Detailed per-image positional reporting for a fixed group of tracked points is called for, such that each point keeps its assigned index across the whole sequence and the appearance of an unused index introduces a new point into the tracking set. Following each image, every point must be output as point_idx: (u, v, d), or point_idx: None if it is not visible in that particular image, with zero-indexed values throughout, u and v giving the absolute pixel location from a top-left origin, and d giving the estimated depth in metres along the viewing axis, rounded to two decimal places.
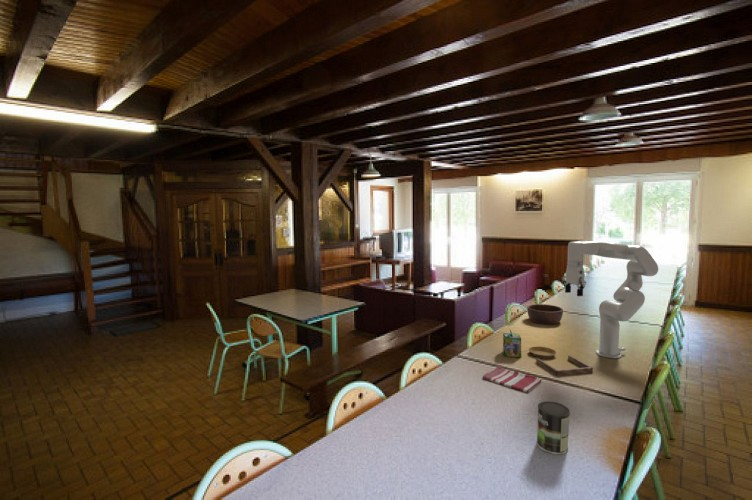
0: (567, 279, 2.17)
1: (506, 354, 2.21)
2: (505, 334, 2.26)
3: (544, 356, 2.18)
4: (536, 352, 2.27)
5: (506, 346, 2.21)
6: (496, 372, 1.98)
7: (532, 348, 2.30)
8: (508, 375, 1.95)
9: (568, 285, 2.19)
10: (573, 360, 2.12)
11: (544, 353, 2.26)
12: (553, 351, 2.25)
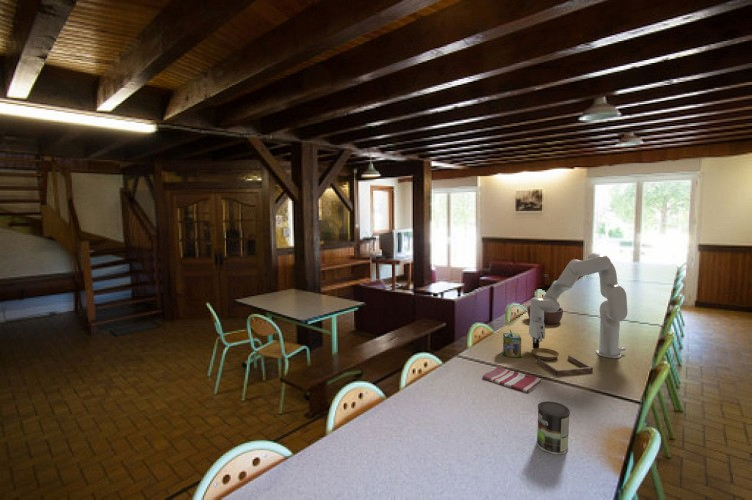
0: (530, 332, 2.32)
1: (506, 354, 2.21)
2: (505, 334, 2.26)
3: (547, 358, 2.15)
4: (539, 353, 2.25)
5: (506, 346, 2.21)
6: (496, 372, 1.98)
7: (534, 349, 2.27)
8: (508, 375, 1.95)
9: None
10: (573, 360, 2.12)
11: (547, 354, 2.24)
12: (556, 352, 2.22)
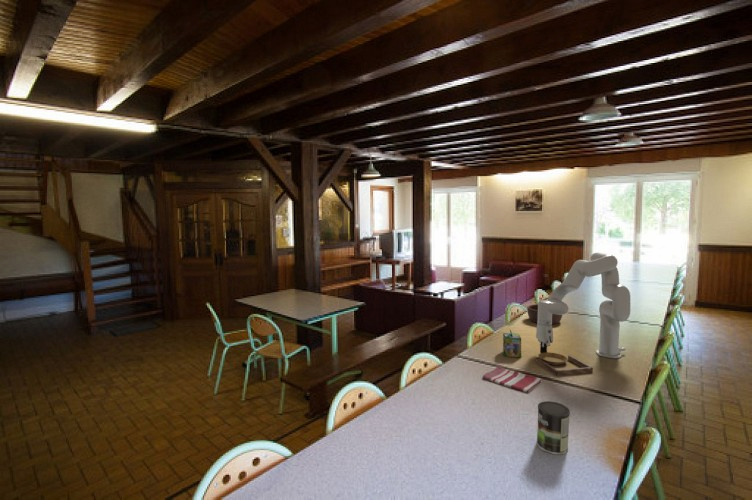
0: (537, 336, 2.24)
1: (506, 354, 2.21)
2: (505, 334, 2.26)
3: (555, 363, 2.07)
4: (546, 358, 2.17)
5: (506, 346, 2.21)
6: (496, 372, 1.98)
7: (542, 354, 2.20)
8: (508, 375, 1.95)
9: None
10: (573, 360, 2.12)
11: (555, 359, 2.16)
12: (564, 357, 2.14)
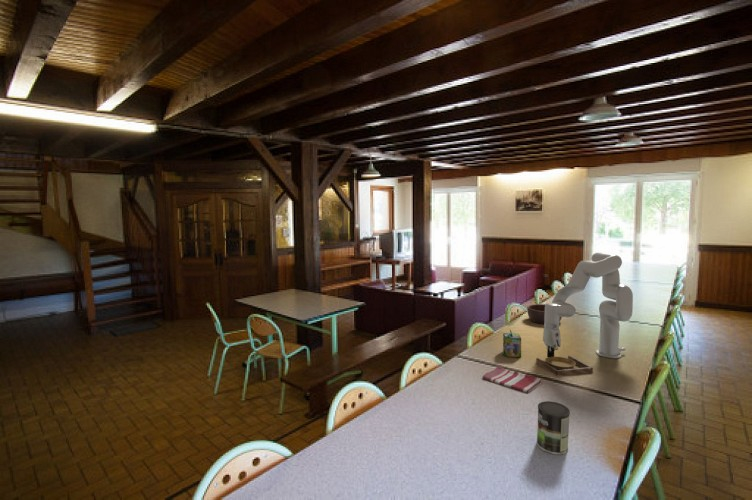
0: (544, 340, 2.18)
1: (506, 354, 2.21)
2: (505, 334, 2.26)
3: (562, 367, 2.01)
4: (553, 363, 2.11)
5: (506, 346, 2.21)
6: (496, 372, 1.98)
7: (549, 358, 2.14)
8: (508, 375, 1.95)
9: None
10: (573, 360, 2.12)
11: (562, 363, 2.10)
12: (572, 362, 2.08)
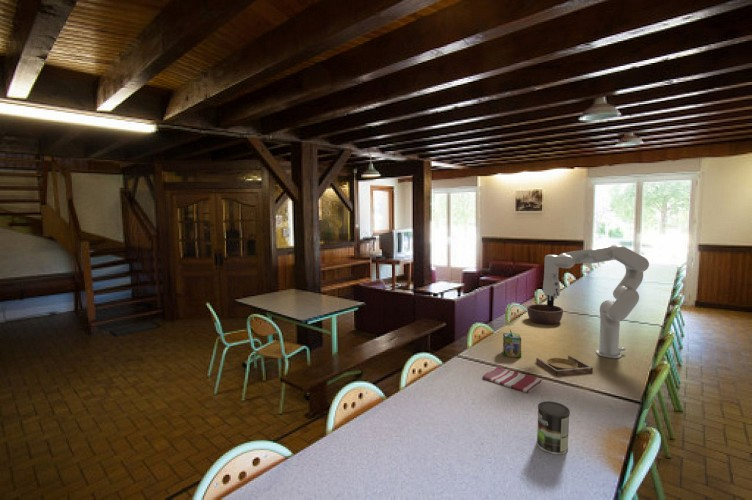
0: (544, 290, 2.28)
1: (506, 354, 2.21)
2: (505, 334, 2.26)
3: None
4: (555, 364, 2.09)
5: (506, 346, 2.21)
6: (496, 372, 1.98)
7: (551, 360, 2.12)
8: (508, 375, 1.95)
9: None
10: (573, 360, 2.12)
11: (564, 365, 2.08)
12: (574, 363, 2.06)
